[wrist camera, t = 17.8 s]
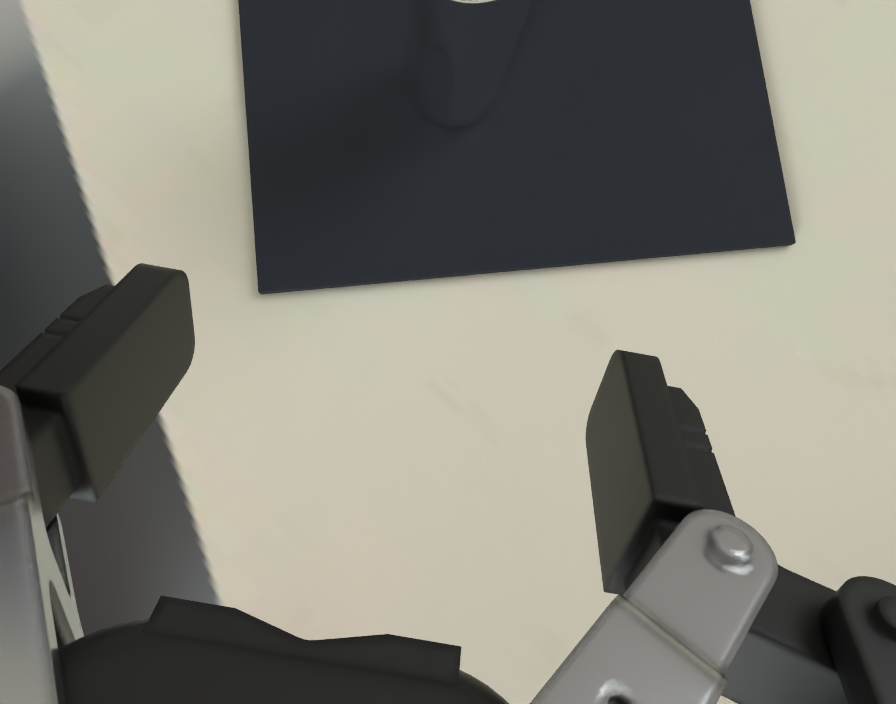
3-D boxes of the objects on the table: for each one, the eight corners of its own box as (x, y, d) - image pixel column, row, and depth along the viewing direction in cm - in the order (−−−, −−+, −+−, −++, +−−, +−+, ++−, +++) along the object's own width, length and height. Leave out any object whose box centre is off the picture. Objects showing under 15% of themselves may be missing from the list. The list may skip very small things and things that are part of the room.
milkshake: (446, 185, 23) (467, -3, 13) (370, 70, 24) (336, -193, 14) (547, 126, 24) (639, -97, 14) (470, 14, 24) (507, -277, 14)
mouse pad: (721, -126, 26) (725, -132, 26) (791, 245, 24) (796, 242, 24) (233, -99, 25) (231, -106, 25) (260, 294, 23) (258, 292, 22)
